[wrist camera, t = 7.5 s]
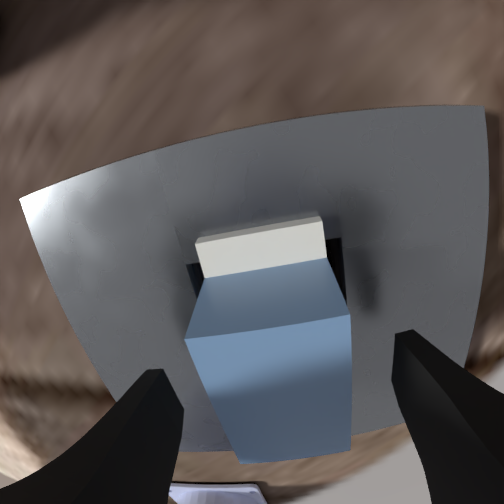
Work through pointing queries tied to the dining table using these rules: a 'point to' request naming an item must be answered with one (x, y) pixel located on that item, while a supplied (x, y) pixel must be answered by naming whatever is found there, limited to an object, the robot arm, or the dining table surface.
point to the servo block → (274, 342)
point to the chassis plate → (271, 212)
